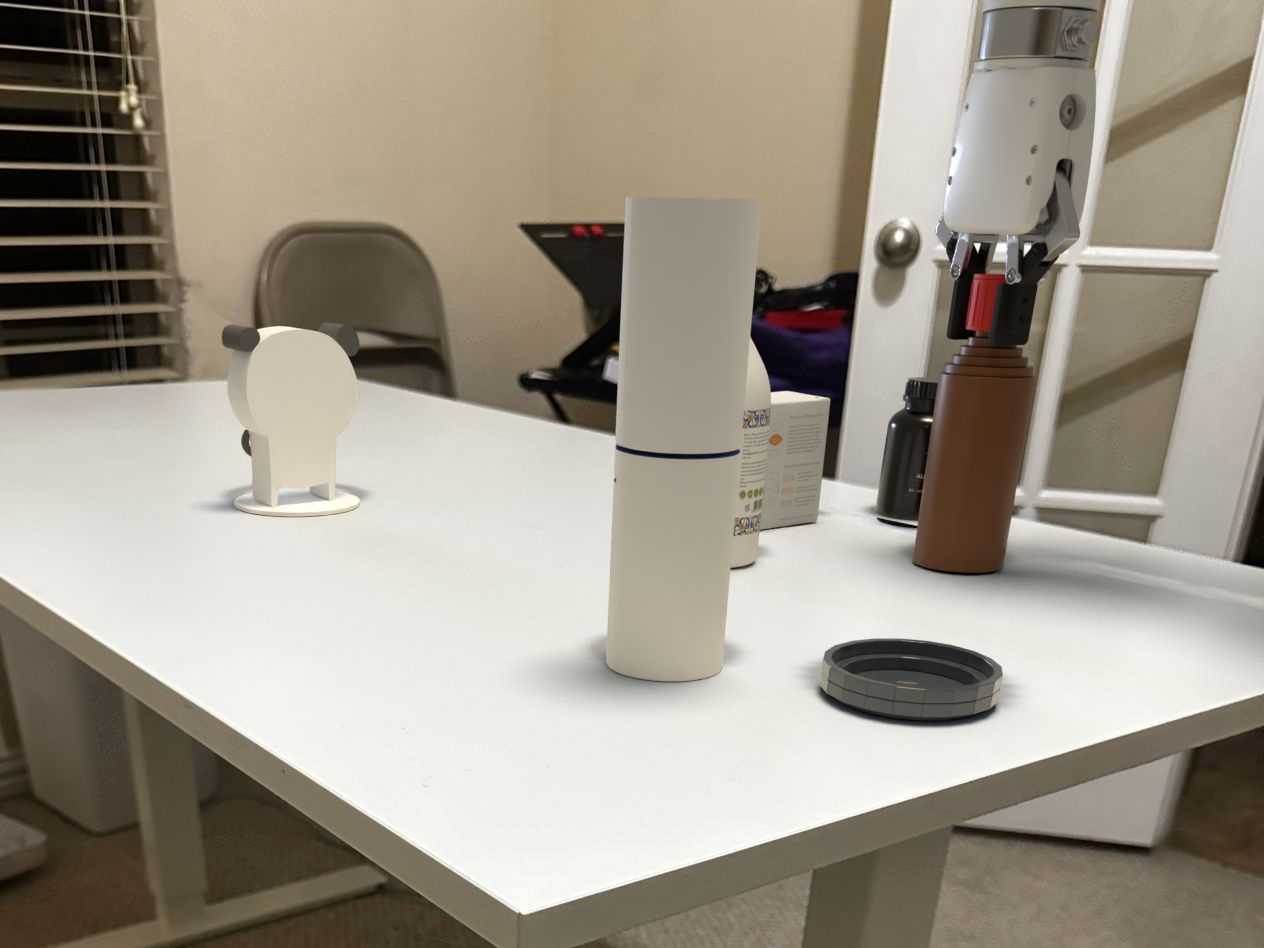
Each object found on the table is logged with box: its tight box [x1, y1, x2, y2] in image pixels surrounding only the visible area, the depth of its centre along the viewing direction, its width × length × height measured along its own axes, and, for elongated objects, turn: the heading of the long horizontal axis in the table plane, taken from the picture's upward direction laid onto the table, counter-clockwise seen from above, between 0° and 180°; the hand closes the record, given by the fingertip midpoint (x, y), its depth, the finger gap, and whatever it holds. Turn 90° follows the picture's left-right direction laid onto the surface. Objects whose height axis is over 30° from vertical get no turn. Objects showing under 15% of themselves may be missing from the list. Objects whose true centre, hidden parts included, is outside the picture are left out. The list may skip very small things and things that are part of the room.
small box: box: [759, 390, 831, 531], centre depth 120 cm, size 8×6×10 cm
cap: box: [966, 273, 1007, 332], centre depth 101 cm, size 4×4×4 cm
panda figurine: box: [221, 321, 361, 518], centre depth 122 cm, size 12×11×15 cm
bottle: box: [912, 331, 1037, 574], centre depth 105 cm, size 7×7×20 cm
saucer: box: [819, 637, 1004, 721], centre depth 79 cm, size 10×10×2 cm
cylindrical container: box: [605, 196, 763, 682], centre depth 78 cm, size 7×7×25 cm
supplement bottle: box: [874, 376, 939, 530], centre depth 121 cm, size 7×7×12 cm
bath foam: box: [730, 336, 772, 569], centre depth 104 cm, size 7×7×20 cm
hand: (986, 339), depth 102 cm, fingers closed on cap, 4 cm apart
